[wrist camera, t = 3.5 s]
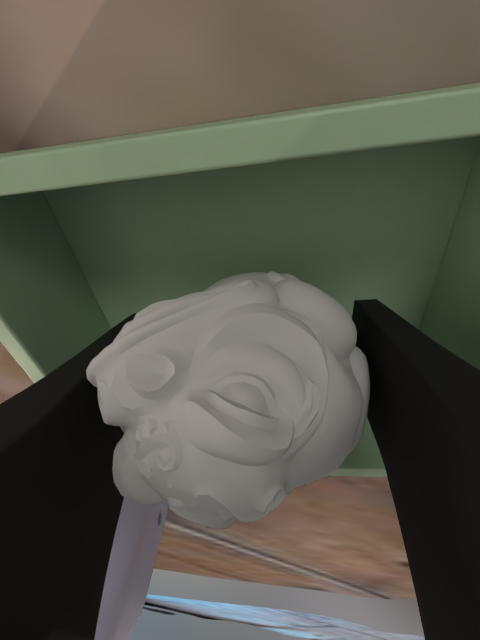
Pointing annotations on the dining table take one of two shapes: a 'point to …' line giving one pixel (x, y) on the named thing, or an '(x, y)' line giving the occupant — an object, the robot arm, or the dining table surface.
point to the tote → (250, 222)
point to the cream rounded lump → (232, 397)
